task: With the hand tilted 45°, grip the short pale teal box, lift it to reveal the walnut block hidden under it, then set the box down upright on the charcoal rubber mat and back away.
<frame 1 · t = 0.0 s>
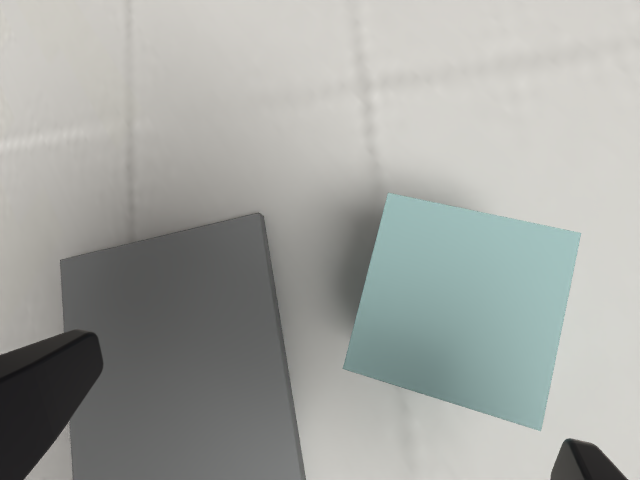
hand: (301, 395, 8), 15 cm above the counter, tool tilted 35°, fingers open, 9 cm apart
pale teal box: (437, 306, 22), on the counter
mat: (177, 374, 24), on the counter
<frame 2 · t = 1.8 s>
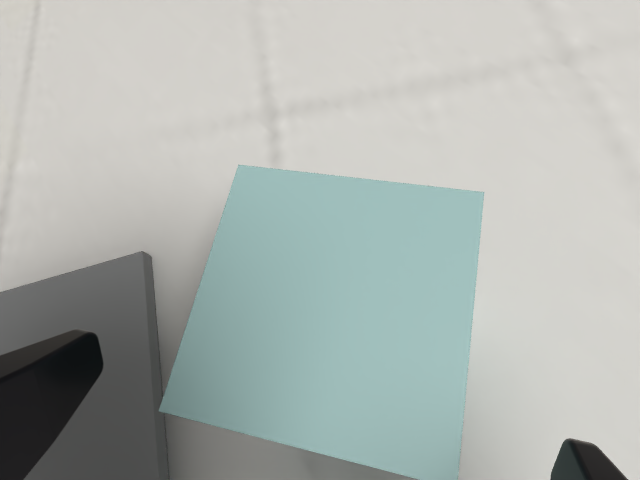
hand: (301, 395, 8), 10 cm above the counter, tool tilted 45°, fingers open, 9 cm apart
pale teal box: (357, 352, 17), on the counter
mat: (19, 471, 18), on the counter
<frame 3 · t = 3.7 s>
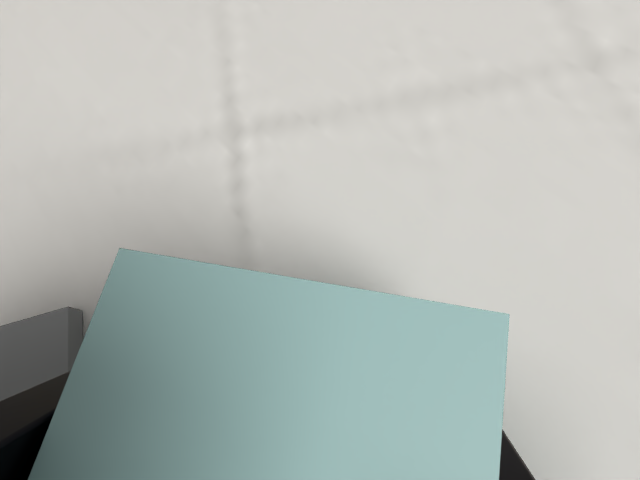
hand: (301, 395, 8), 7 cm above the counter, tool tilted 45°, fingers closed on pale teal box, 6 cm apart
pale teal box: (332, 446, 14), on the counter, touching gripper
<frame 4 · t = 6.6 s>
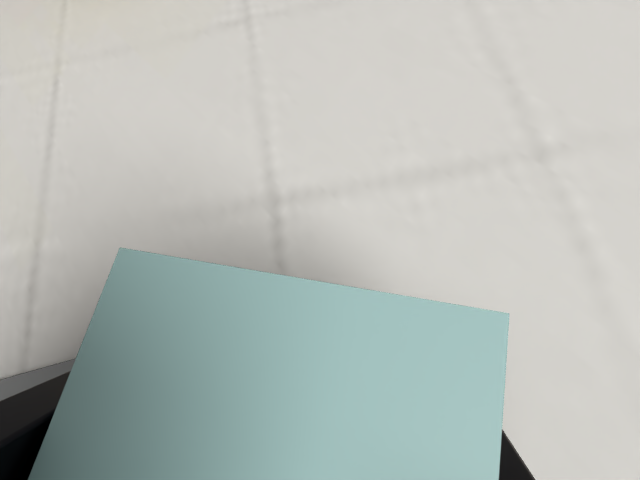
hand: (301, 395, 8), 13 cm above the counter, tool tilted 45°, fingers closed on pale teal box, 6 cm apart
pale teal box: (332, 446, 14), point 7 cm above the counter, touching gripper
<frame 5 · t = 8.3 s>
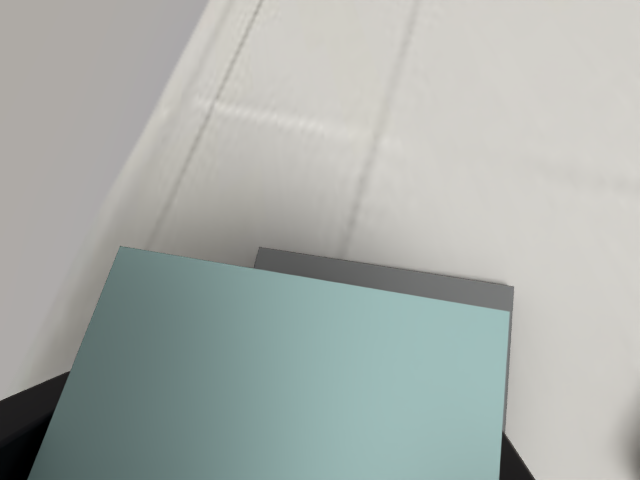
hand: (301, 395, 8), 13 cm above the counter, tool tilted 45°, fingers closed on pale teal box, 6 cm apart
pale teal box: (332, 445, 14), point 7 cm above the counter, touching gripper
mat: (350, 432, 20), on the counter
when the fingers open (9 cm above the counter, at t = 9.7 s): pale teal box drops 1 cm, resting on mat.
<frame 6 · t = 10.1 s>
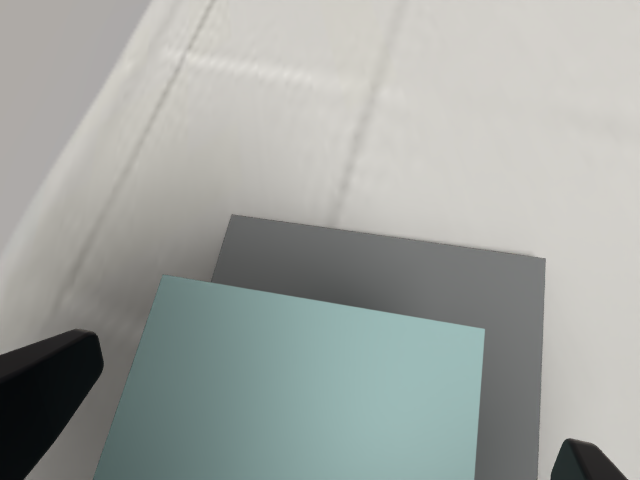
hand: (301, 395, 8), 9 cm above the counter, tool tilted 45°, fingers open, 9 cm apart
pale teal box: (337, 442, 15), point 1 cm above the counter, touching mat
mat: (340, 441, 16), on the counter
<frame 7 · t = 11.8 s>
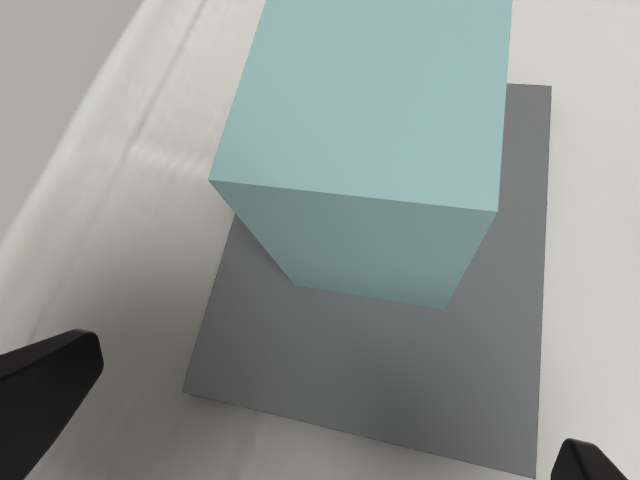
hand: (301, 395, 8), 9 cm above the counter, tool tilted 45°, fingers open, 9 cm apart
pale teal box: (378, 228, 18), point 1 cm above the counter, touching mat
mat: (378, 235, 19), on the counter
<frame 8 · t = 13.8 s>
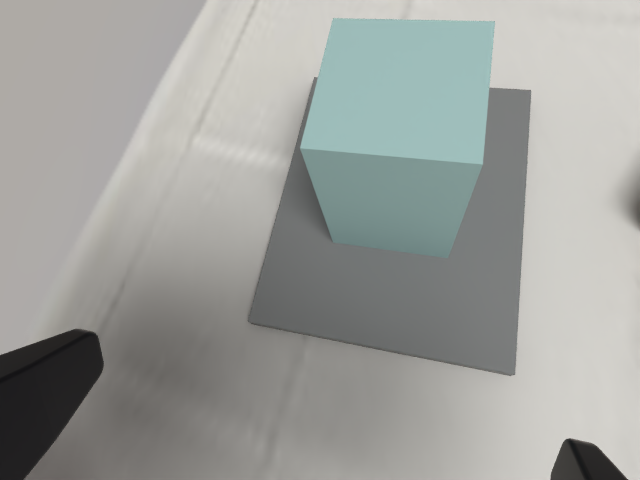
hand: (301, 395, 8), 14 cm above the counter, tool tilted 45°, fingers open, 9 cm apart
pale teal box: (396, 199, 23), point 1 cm above the counter, touching mat
mat: (396, 206, 24), on the counter
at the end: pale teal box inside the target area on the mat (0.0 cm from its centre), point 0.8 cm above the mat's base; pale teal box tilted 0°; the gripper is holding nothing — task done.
